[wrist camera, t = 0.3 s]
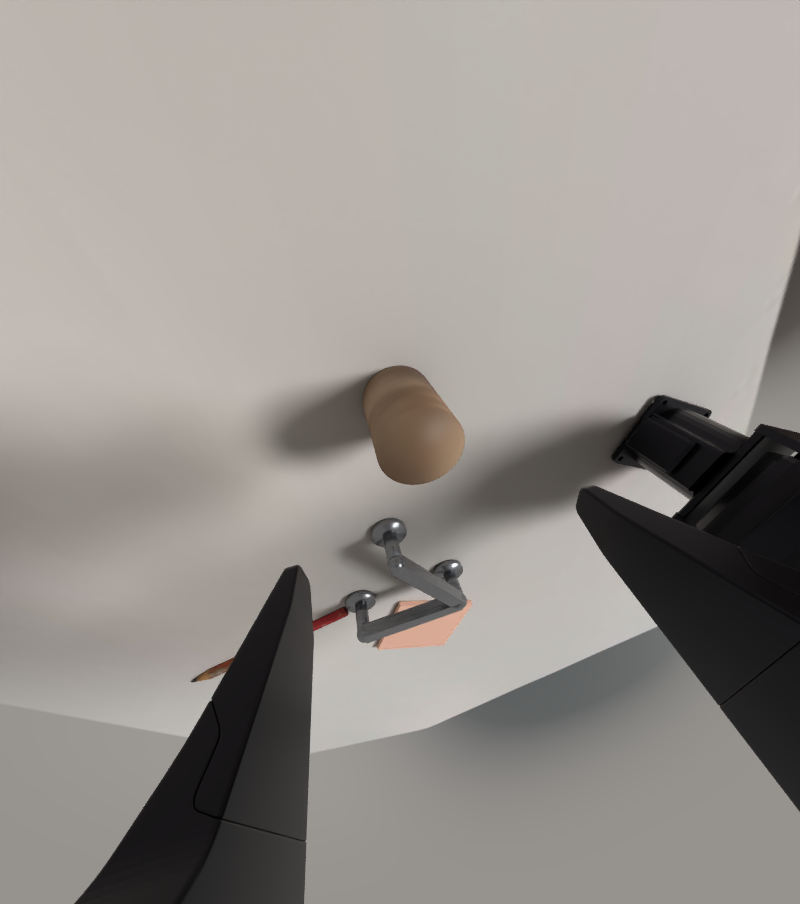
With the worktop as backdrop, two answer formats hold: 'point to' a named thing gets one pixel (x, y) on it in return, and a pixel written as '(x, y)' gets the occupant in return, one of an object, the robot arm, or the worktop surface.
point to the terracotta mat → (423, 630)
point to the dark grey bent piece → (435, 585)
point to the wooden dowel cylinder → (411, 426)
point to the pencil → (316, 625)
